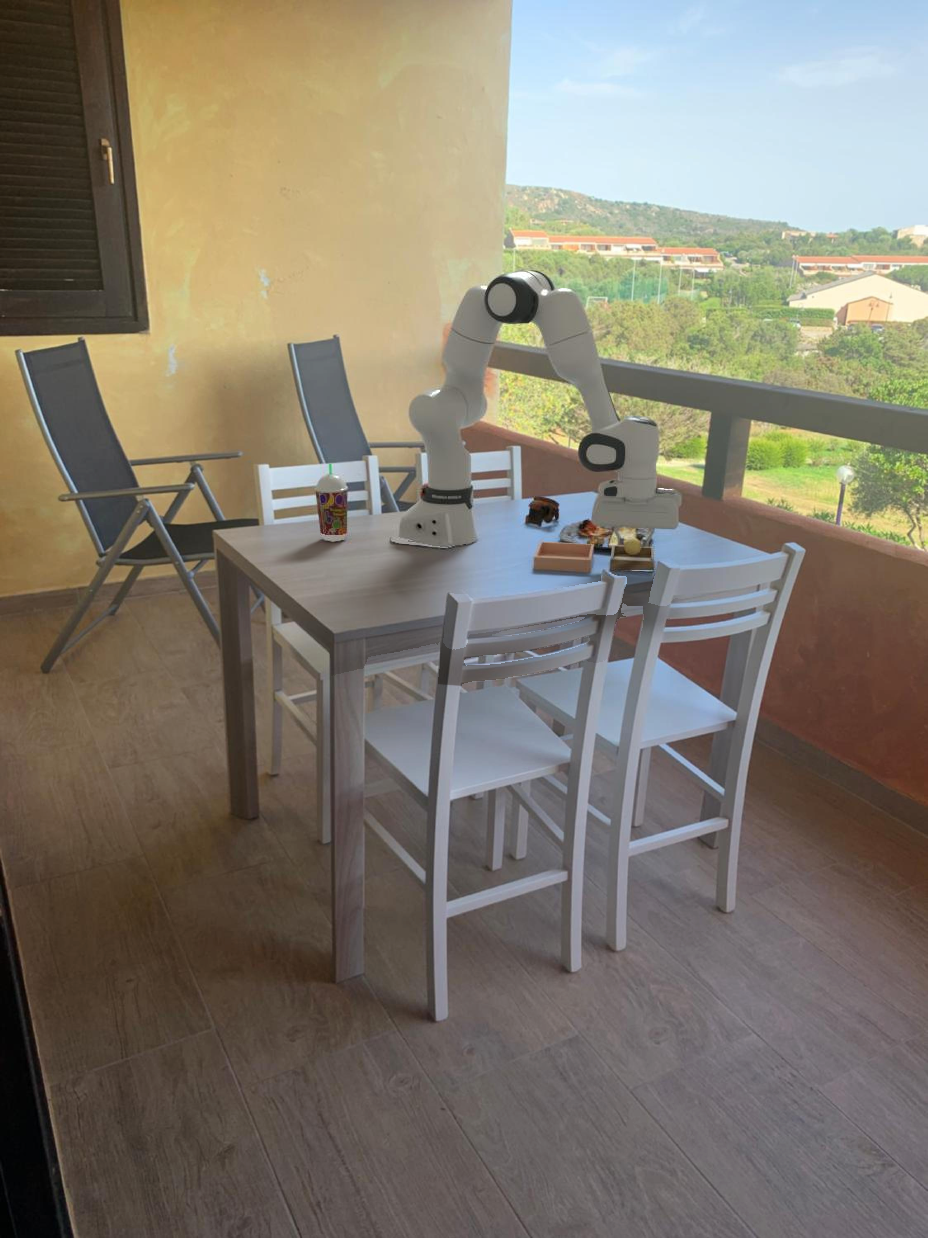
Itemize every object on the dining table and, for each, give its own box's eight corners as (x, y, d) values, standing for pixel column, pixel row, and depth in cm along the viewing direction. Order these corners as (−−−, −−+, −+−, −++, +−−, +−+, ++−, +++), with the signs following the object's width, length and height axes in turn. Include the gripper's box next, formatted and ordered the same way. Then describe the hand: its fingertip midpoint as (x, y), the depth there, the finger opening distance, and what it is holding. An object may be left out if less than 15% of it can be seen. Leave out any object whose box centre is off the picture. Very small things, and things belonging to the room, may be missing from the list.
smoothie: (336, 545, 233) (332, 467, 226) (311, 541, 237) (306, 464, 230) (356, 537, 240) (353, 462, 232) (332, 533, 244) (327, 458, 237)
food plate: (571, 523, 252) (572, 511, 251) (656, 531, 246) (657, 518, 244) (551, 551, 230) (552, 537, 229) (644, 560, 224) (645, 546, 222)
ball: (623, 556, 216) (624, 540, 214) (624, 551, 219) (624, 535, 218) (640, 557, 215) (641, 540, 214) (641, 552, 219) (641, 536, 217)
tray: (609, 569, 213) (610, 559, 212) (611, 555, 224) (612, 545, 223) (653, 572, 212) (654, 561, 211) (653, 557, 223) (653, 547, 222)
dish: (533, 569, 214) (533, 556, 213) (539, 553, 226) (540, 541, 225) (590, 572, 212) (590, 559, 211) (593, 555, 224) (593, 544, 223)
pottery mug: (516, 522, 256) (525, 495, 257) (543, 534, 260) (552, 507, 261) (538, 521, 245) (547, 492, 246) (566, 533, 249) (575, 505, 250)
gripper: (682, 486, 213) (677, 543, 217) (593, 482, 216) (591, 539, 221) (683, 492, 207) (678, 551, 212) (592, 488, 210) (589, 546, 215)
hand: (632, 545), depth 216 cm, fingers open, 4 cm apart
